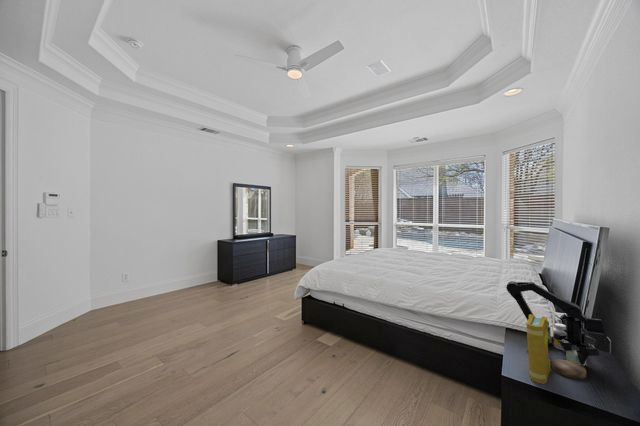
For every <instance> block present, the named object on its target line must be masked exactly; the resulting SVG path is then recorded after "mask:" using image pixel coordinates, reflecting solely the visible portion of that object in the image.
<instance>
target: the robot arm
mask: <svg viewBox="0 0 640 426" xmlns="http://www.w3.org/2000/svg"><path fill="white" fill-rule="evenodd" d="M506 291H507V292H508V293H509V295H510V296H511V297H512V298H513V299H514V300H515V301H516V303H517V305H518V306H519V308H520V310H521V312H522V313H523V315H524V317H525V318H526V320H527V321H528V319H529V317H528V316H529V314H531V315H534V313H533V311H532V310H531V307H530V306H529V304H528V303H527V301H526V300H525V298H524V296H523V293H524V292H528V291H529V292H531V291H532V292H533V293H534V294H537V295H538V296H540V297H542V298H543V299H545V300H547V301H549V302H550V303H552V304H554V305H555V306H557V307H558V308H559V309H560V310H561V311H562V312H563V314H562V315H560V319H561V320H563V321H565V325H566V330H564V332H566V333H567V334H565V333H555V334H554V338H553V340H554V339H556V340H560V341H558V342H559V343H560V344H561V346H562V347H563V349H564V350H563V351H565V353H566V351H573V346H575V347H577V348H578V350H575V351H576V352H577V355H578V358H579V361H580V363H581V364H582V365H584V363H585V361H586V362H587V359H588V357H590V356H591V357H593V356H596V357H597V356H600V350H599V349H598V348H596V347H594V346H595V343H596V338H593V337H591V336H588V335H587V334H586V333H585V332H583V330H585V331H586V332H587V333H592V334H599V335H605V328H604V324H603V320H602V319H601V318H592V317H586V316H585V314H584V313H582V310H581V309H580V307H579V305H578V304H576V303H574V302H571V301H569V300H565V299H563V298H560V297H559V296H557V295H555V294H554V293H552V292H550V291H549V290H547V289H545V288H544V287H542V286H540V285H538V284H537V283H535V282H533V281H514V280H513V281H508V282H507V285H506ZM522 292H523V293H522ZM548 336H549V334H548ZM587 344H589V345H587ZM526 352H528V349H526Z"/></svg>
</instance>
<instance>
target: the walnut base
mask: <svg viewBox="0 0 640 426" xmlns="http://www.w3.org/2000/svg"><path fill="white" fill-rule="evenodd" d="M550 364H551V369H552V370H553V371H555V373H558V375H559V374H560V375H562V376H564V377H566V378H570V377H571V379H574V380H575V379H576V380H577V379H578V380H584V379H586V378H587V370H586V368H585V366H581V365H579V364H577V363H574V362H571V361H567V359H566V360H565V359H560V358H557V359H552V360H550Z"/></svg>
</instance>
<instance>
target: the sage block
mask: <svg viewBox="0 0 640 426" xmlns="http://www.w3.org/2000/svg"><path fill="white" fill-rule="evenodd" d="M576 351H577V350H572V351H566V352H565V353H566V354H565V355H566V356H565V357H566V360H567V361H571V362H574V363H577V364H579V365H582V364H581V363H580V361H579V358H578V355H577V352H576ZM585 365H586V366H587V360H586V361H585V363H584V365H583V366H582V367H585Z"/></svg>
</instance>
